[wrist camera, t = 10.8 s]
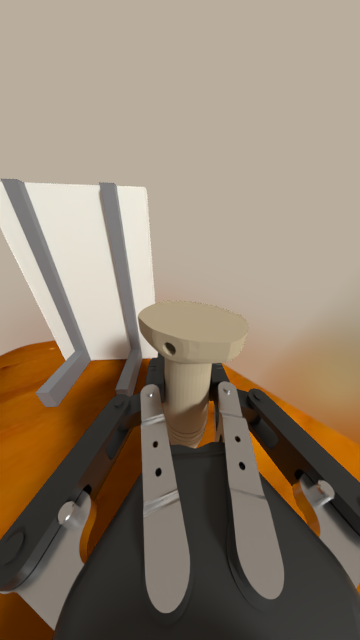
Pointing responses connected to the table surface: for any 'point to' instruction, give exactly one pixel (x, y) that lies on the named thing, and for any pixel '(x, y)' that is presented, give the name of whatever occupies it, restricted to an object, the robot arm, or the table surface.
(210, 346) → the handle
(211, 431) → the table surface
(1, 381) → the table surface
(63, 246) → the rack
